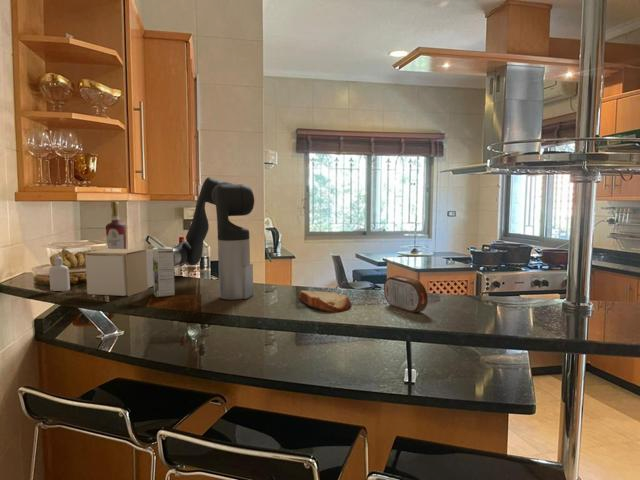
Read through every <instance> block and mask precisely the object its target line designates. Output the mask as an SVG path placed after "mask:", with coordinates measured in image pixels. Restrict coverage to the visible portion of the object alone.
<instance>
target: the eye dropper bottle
mask: <svg viewBox="0 0 640 480" xmlns="http://www.w3.org/2000/svg"><path fill="white" fill-rule="evenodd" d="M53 264H54V265H53V266H51V267H49V269H48V270H49V271H48V272H49V274H48V275H49V276H48V277H49V287H50V288H49V289H50V291H51V290H53V291H62V292H69V291H70V290H71V282H70V279H71V278H70V270H69V267H68V266H66V265H64V261H63V258H62V257H61V256H60V254H59V253H58V254H57V253H56V257H55V258H54V259H53ZM62 292H61V293H62Z"/></svg>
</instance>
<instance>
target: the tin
mask: <svg viewBox="0 0 640 480" xmlns="http://www.w3.org/2000/svg"><path fill="white" fill-rule="evenodd" d="M383 291H384V298H385V300H386V302H387V303H388V304H389V305H390V306H391V307H393V308H396V309H399V310H403V311H405V312H408V313H412V314H414V313H420V312H423V311H424V310H425V309H426V308H427V306H428V301H429V300H428V299H429V298H428V292H427V290H426V287H425V285H424V284H423V283H422V282H421V281H419V280H418V279H414V278H411V277H406V276H403V275H398V274H396V275H394V276H393V275H392V276H390V277H388V278H386V279H385V281H384V283H383Z"/></svg>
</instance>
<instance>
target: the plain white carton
mask: <svg viewBox="0 0 640 480" xmlns="http://www.w3.org/2000/svg"><path fill="white" fill-rule="evenodd" d="M84 258H85V259H86V260H85V274H86V275H87V277H86V289H87V290H86V291H87V292H88V293H87V292H86V293H87V295H98V296H99V295H102V296H105V295H106V296H121V297H124V296H127V281H126V262H125V255H102V254H91V255H86V256H85V255H84ZM146 260H147V281H148V289H149V288H151V287H154V284H153V249H146Z"/></svg>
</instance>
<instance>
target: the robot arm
mask: <svg viewBox="0 0 640 480" xmlns="http://www.w3.org/2000/svg"><path fill="white" fill-rule="evenodd" d="M207 203H209V204H211V205H215V209H216V210H215V211H216V222H217V223H216V224H217V255H218V257H217V258H218V260H217V261H218V284H219V287H218V288H219V289H218V291H219V298H220V299H223V300H232V301H233V300H247V299H248V298H250V297H252V296H253V295H254V268H253V266H254V265H253V263H251V250H250V249H251V246H250V230H249V229H248V228H247V227H242V226H239V225H237V224H235V223H233V222H232V221H230V218H229V217H239V216H240V217H241V216H249V215H250V213H252V212H253V209H254V206H255V195H254V192H253V190H252V189H251V187H250V186H249V185H248V184H240V183H239V184H238V183H235V184H234V183H232V182H227V181H222V180H220V179H216V178H213V177H210V176H209V177H206V178H205V179H204V182H203V183H202V186H201V188H200V192H199V195H198V198H197V201H196V206H195V208H194V214H193V217H192V220H191V224H190V226H189V228H188V230H187V232H186V233H187V234H186V236H185V240H184V241H181V242H179V243H178V244H177V245H176V246H174V247H171V248H172V249H173V254H174V267H175V266H179V265H183V264H184V263H186V264H188V265H189V266H195V265H197V264H198V263H199V262H200V261H201V259H202V256H203V247H204V241H205V239H206V237H207V235H208V232H209V229H210V228H209V221H208V217H207V213H206V204H207Z"/></svg>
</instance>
